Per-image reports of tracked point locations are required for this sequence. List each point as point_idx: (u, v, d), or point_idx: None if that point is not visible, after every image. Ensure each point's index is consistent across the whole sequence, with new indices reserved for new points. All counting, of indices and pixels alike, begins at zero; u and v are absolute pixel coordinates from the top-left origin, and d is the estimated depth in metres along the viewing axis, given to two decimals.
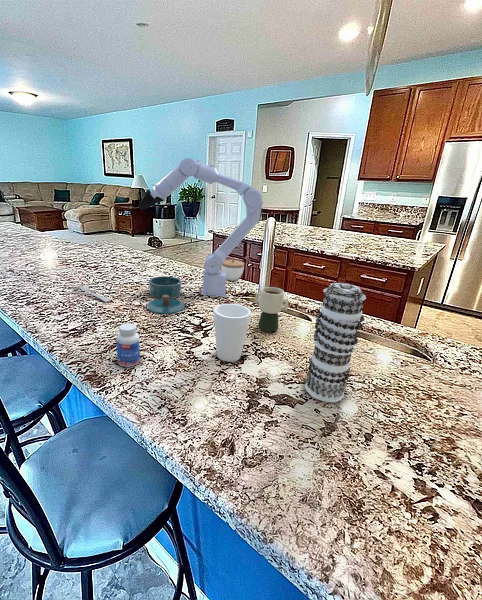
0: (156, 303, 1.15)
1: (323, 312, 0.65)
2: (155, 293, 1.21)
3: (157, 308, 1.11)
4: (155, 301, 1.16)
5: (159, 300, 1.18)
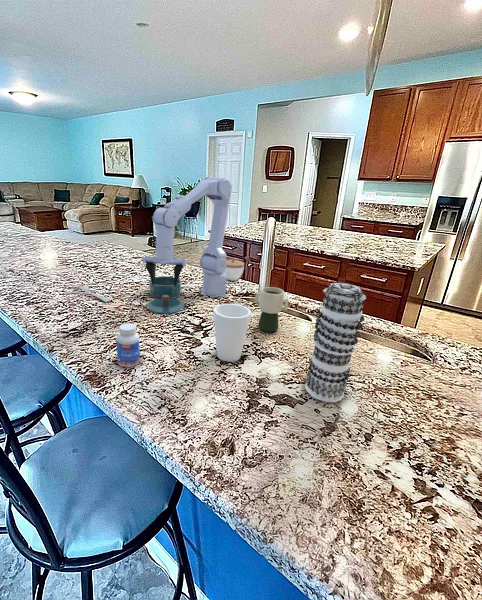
0: (156, 303, 1.15)
1: (323, 312, 0.65)
2: (155, 293, 1.21)
3: (157, 308, 1.11)
4: (155, 301, 1.16)
5: (159, 300, 1.18)
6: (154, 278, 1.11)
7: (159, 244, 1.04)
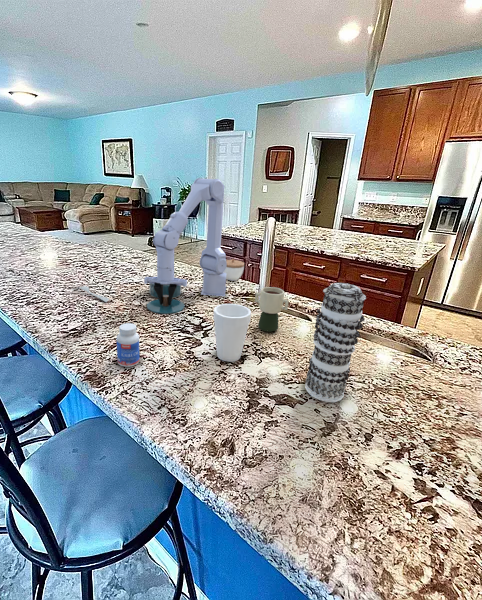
0: (156, 303, 1.15)
1: (323, 312, 0.65)
2: (155, 293, 1.21)
3: (157, 308, 1.11)
4: (155, 301, 1.16)
5: None
6: None
7: (160, 266, 1.06)
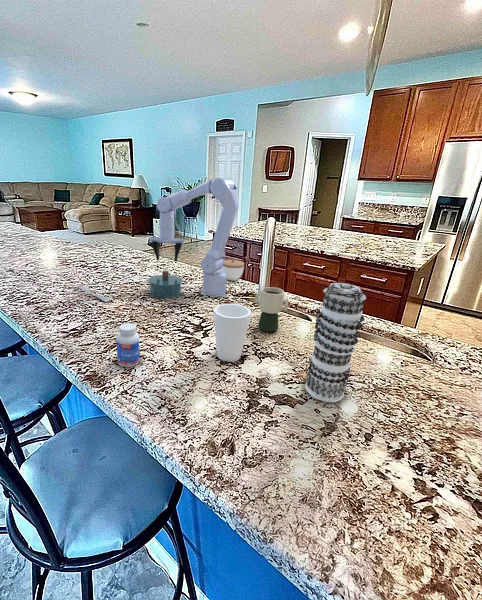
0: (157, 278, 1.26)
1: (323, 312, 0.65)
2: (155, 293, 1.21)
3: (158, 281, 1.22)
4: (156, 276, 1.28)
5: (160, 275, 1.29)
6: (158, 255, 1.35)
7: None
